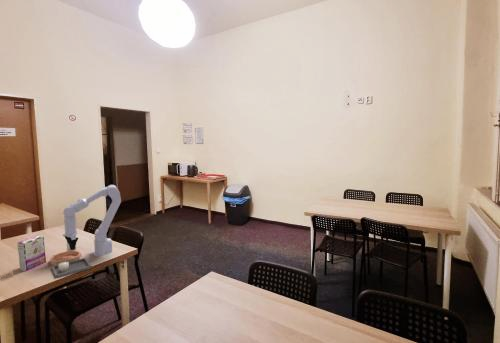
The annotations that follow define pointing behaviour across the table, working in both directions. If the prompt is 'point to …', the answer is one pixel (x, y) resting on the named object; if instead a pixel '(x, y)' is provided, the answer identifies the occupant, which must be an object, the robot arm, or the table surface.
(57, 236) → the table surface
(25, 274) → the table surface
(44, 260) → the candy bar box
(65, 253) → the bowl
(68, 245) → the white rounded piece
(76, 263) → the parts tray
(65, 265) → the white rounded piece
